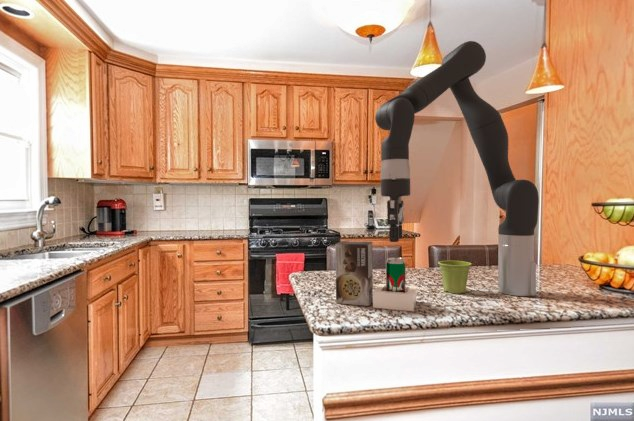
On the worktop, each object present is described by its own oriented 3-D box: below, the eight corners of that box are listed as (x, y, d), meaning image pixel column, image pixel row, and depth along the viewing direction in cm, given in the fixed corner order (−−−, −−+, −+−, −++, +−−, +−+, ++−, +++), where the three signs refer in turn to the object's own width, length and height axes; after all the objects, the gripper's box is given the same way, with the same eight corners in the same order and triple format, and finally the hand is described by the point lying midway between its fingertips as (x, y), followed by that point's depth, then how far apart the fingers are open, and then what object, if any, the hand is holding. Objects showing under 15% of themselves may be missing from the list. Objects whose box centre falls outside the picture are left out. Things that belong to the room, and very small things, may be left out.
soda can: (405, 302, 97) (405, 257, 97) (405, 307, 92) (405, 260, 92) (385, 301, 98) (385, 257, 98) (385, 306, 93) (385, 259, 93)
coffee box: (373, 300, 99) (373, 241, 98) (369, 306, 93) (369, 243, 92) (341, 297, 102) (341, 240, 101) (334, 303, 96) (334, 242, 95)
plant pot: (438, 294, 106) (438, 264, 105) (437, 287, 115) (437, 259, 114) (473, 296, 103) (473, 265, 103) (469, 289, 112) (469, 261, 112)
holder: (416, 301, 98) (416, 286, 98) (413, 311, 88) (413, 295, 88) (379, 297, 101) (379, 283, 101) (372, 307, 92) (372, 291, 92)
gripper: (384, 180, 102) (385, 237, 102) (376, 176, 89) (377, 242, 89) (412, 179, 100) (413, 237, 100) (407, 175, 86) (408, 243, 86)
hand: (396, 240), depth 94 cm, fingers open, 8 cm apart
